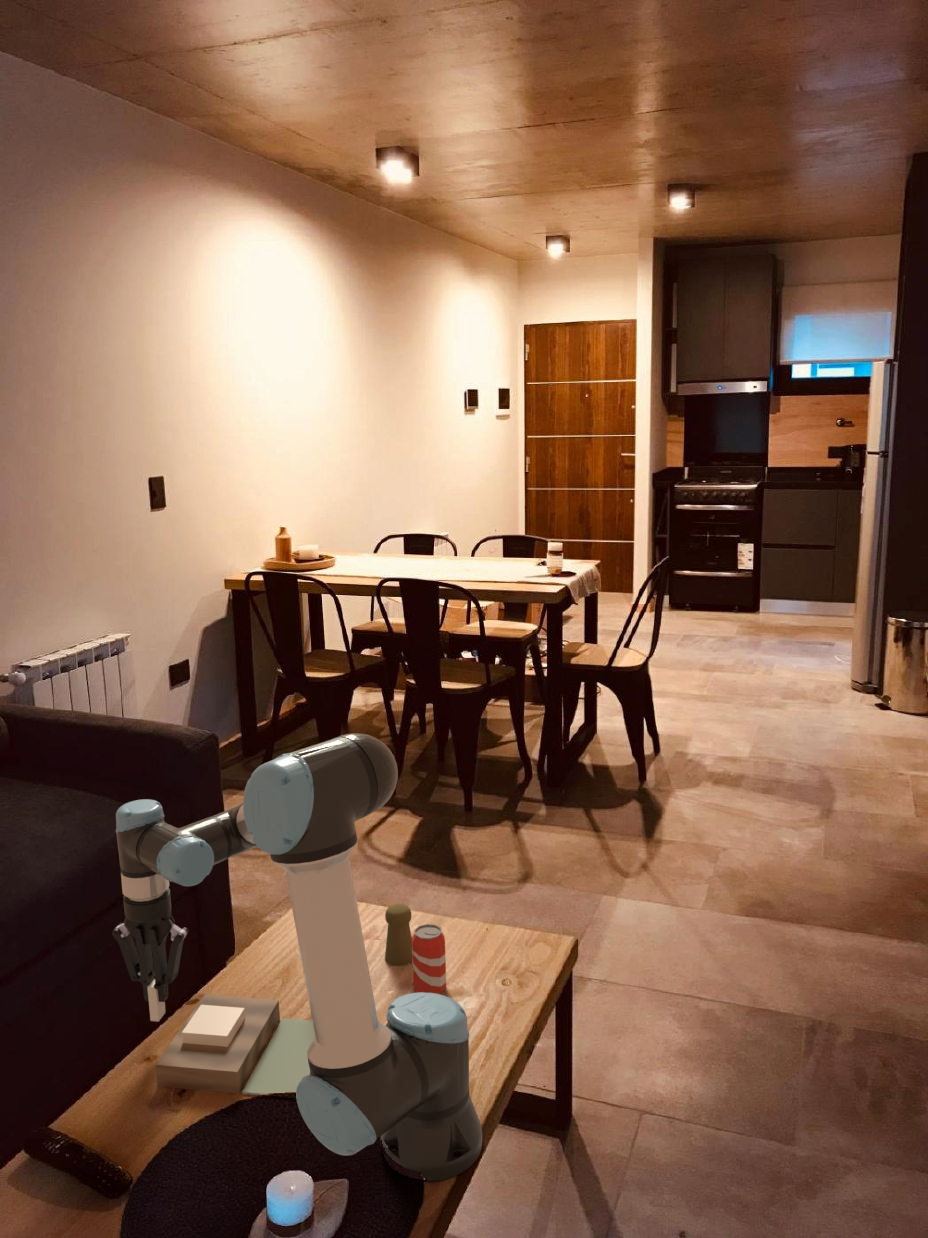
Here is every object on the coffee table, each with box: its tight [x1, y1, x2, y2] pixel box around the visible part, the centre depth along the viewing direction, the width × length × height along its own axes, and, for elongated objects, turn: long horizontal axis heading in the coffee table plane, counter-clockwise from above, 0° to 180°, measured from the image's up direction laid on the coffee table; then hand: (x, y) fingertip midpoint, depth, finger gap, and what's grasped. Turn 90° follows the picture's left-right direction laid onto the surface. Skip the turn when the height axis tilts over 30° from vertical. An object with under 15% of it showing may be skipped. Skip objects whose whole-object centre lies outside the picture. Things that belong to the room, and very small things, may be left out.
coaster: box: [182, 1005, 245, 1047], centre depth 175 cm, size 8×8×2 cm
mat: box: [241, 1017, 316, 1096], centre depth 173 cm, size 20×15×1 cm
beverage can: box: [411, 923, 447, 994], centre depth 191 cm, size 6×6×12 cm
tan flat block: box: [155, 994, 281, 1094], centre depth 175 cm, size 20×14×4 cm
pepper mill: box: [384, 903, 413, 967], centre depth 202 cm, size 6×6×11 cm
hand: (158, 1016), depth 176 cm, fingers closed
